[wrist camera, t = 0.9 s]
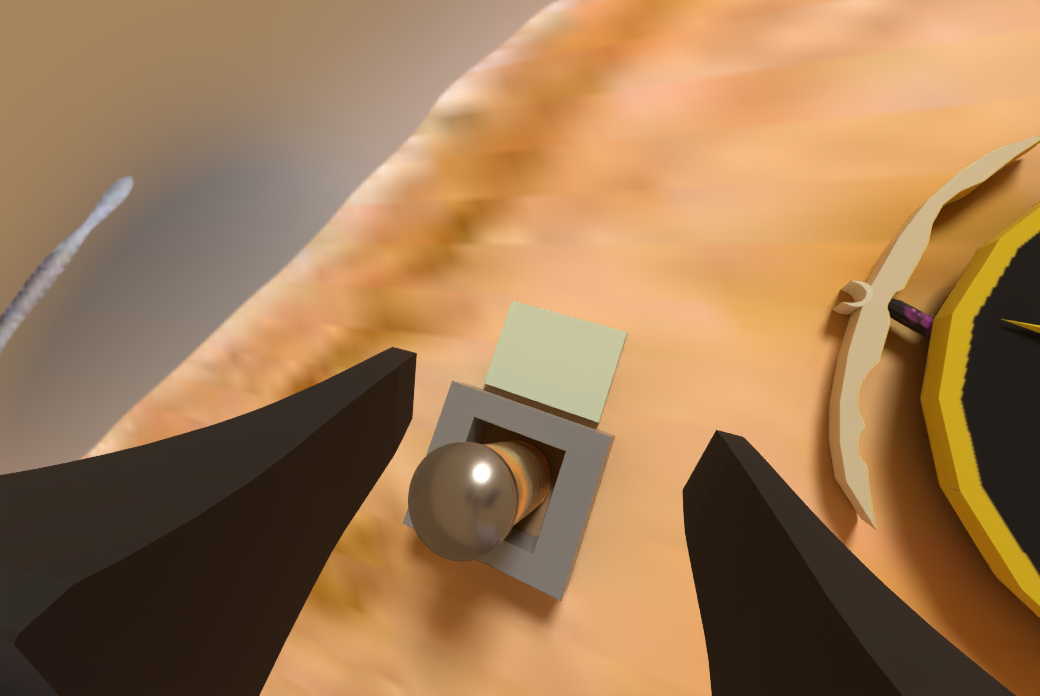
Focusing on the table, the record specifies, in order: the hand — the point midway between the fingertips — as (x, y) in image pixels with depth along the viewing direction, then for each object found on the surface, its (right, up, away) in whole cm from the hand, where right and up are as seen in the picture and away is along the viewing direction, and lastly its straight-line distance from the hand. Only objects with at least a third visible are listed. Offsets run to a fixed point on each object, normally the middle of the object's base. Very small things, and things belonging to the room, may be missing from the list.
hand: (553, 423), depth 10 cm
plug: (-1, -5, +14) cm, 15 cm away
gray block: (-1, -5, +14) cm, 15 cm away
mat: (+1, +1, +14) cm, 15 cm away
